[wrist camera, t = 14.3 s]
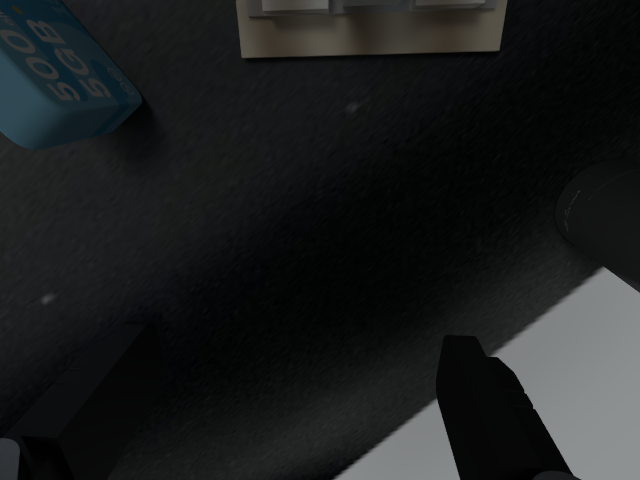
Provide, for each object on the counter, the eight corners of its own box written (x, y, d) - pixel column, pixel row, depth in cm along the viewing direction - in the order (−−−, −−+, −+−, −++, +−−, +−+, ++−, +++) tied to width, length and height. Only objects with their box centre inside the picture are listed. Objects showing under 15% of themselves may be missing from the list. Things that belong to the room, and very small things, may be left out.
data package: (149, 102, 35) (62, 115, 24) (119, 131, 36) (23, 155, 25) (46, -17, 31) (-112, -66, 20) (17, 20, 33) (-147, -8, 22)
